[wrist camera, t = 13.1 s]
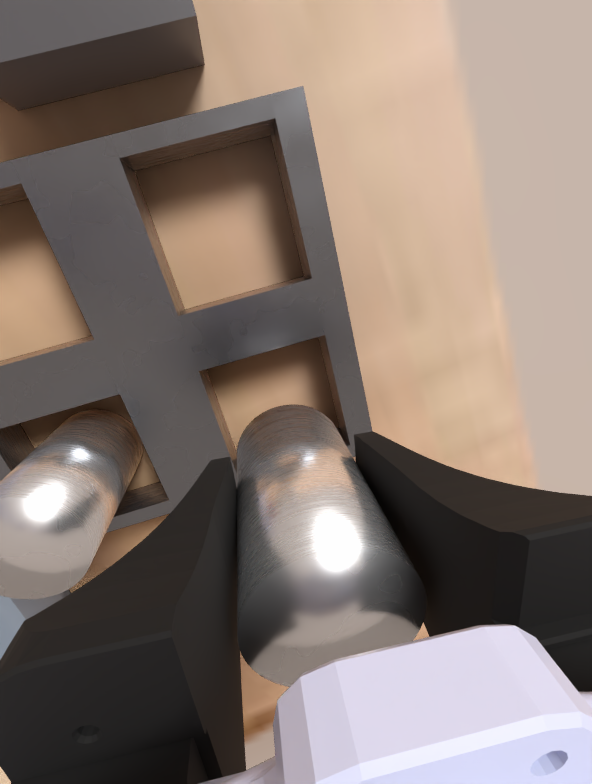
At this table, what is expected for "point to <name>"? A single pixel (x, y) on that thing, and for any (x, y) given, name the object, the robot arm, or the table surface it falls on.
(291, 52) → the table surface
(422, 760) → the robot arm
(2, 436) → the frame
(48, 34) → the button housing
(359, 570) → the billet
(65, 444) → the cylinder
